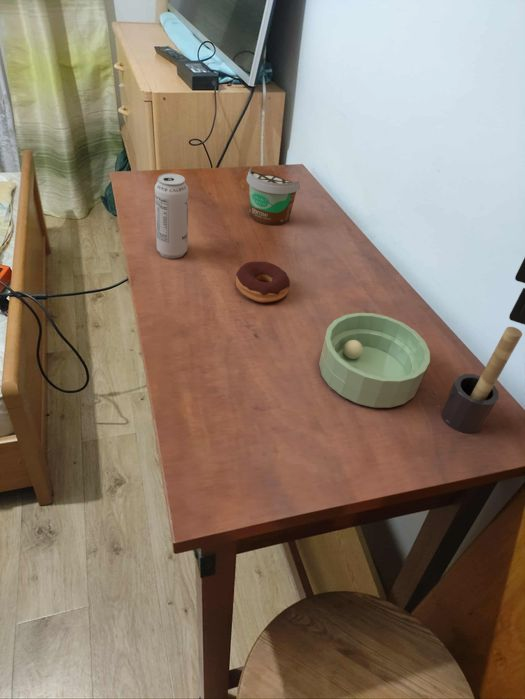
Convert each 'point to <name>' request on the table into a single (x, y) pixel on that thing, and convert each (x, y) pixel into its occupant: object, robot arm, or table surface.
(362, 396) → the bowl
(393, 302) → the table surface
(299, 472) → the table surface
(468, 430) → the holder
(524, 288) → the robot arm
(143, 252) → the table surface
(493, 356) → the stick
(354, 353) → the ball
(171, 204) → the energy drink can
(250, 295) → the donut
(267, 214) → the food container
